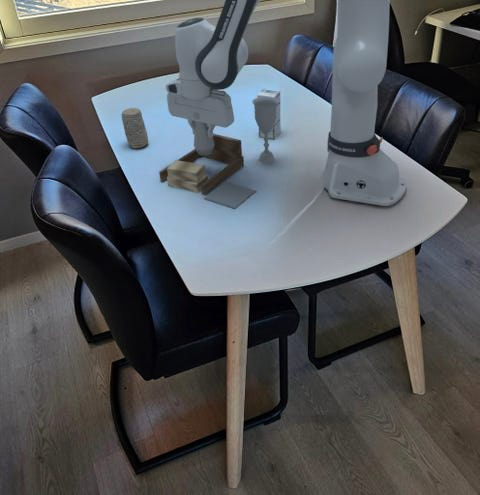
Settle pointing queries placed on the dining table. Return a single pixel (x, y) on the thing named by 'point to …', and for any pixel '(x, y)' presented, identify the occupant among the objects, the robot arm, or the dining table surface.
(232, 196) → the slate mat
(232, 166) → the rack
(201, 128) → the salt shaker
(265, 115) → the chalice
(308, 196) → the dining table surface
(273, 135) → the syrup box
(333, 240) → the dining table surface
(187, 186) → the offcut lower
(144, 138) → the carving
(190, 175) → the offcut upper
